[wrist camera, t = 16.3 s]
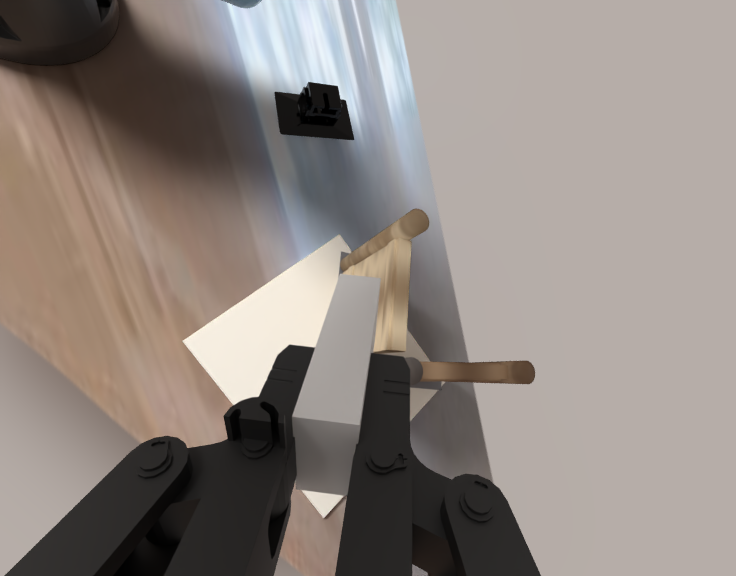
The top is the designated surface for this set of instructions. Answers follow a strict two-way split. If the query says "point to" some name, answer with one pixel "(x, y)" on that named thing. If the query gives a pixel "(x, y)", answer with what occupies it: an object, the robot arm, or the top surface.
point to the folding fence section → (479, 372)
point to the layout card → (284, 335)
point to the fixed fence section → (391, 282)
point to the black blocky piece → (314, 113)
